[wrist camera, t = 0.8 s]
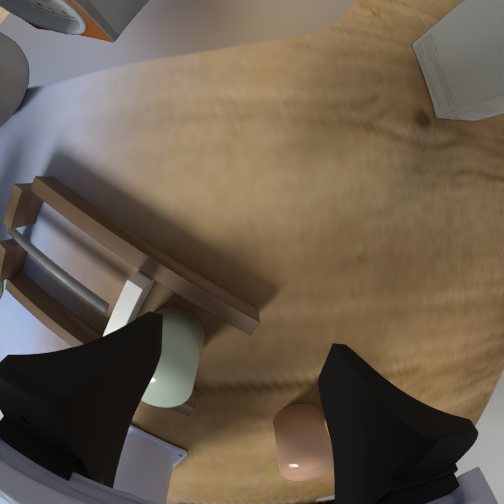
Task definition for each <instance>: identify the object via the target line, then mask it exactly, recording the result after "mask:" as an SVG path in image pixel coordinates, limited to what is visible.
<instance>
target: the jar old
mask: <svg viewBox="0 0 504 504" xmlns="http://www.w3.org/2000/svg"><path fill="white" fill-rule="evenodd" d="M154 313H158V314H162V315H163V329H162V354H161V357H160V360H159V363H158V365H157V368H156V371H155V373H154V375H153V377H152V379H151V381H150V383H149V385H148V387H147V389H146V391H145V393H144V395H143V397H142V399H141V401H143V402H145V403H147V404H150V405H153V406H157V407H175V406H178V405H181V404H182V403H184V402H185V401H187V400H188V398H189V397H190V396H191V393H192V390H193V386H194V382H195V377H196V373H197V369H198V365H199V361H200V357H201V353H202V348H203V344H204V340H205V334H204V329H203V327H202V325H201V323H200V321H199V320H198V319H197V318H196V317H195V316H194V315H193V314H192V313H190V312H189V311H187V310H185V309H182V308H178V307H164V308H161V309H159V310H157V311H156V312H154Z"/></svg>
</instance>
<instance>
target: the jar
mask: <svg viewBox="0 0 504 504" xmlns="http://www.w3.org/2000/svg"><path fill="white" fill-rule="evenodd" d="M273 424H274V432H275V439H276V447H277V455H278V462H279V470H280V474H281V475H282V476H283V477H284V478H286V479H289V480H297V481H300V480H309V479H313V478H316V477H319V476H321V475H324V474H325V473H327V472H329V471H330V470H331V469H332V468H333V467H334V462H333V452H332V444H331V441H330V438H329V435H328V432H327V429H326V426H325V423H324V420H323V417H322V414H321V411H320V409H319V408H318V407H316V406H314V405H312V404H308V403H299V404H293V405H290V406H287V407H285V408H284V409H282V410H281V411H279V412H278V413H277V414H276V416H275V418H274V421H273Z"/></svg>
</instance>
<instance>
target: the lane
mask: <svg viewBox="0 0 504 504" xmlns="http://www.w3.org/2000/svg"><path fill="white" fill-rule="evenodd" d="M43 201H45V202H46V203H47V204H48V205H50V206H51V207H52V208H53V209H55V210H56V211H57V212H59V213H60V214H61V215H63V216H64V217H65V218H66V219H68V220H69V221H70V222H72V223H73V224H74V225H76V226H77V227H79V228H80V229H81V230H83V231H84V232H85V233H87V234H88V235H90V236H91V237H92V238H94V239H95V240H97V241H98V242H99V243H101V244H102V245H104V246H105V247H106V248H108V249H109V250H111V251H112V252H114V253H115V254H117V255H118V256H120V257H121V258H123V259H124V260H126V261H127V262H129V263H130V264H132V265H133V266H135V267H136V268H138V269H139V270H141V271H142V272H144V273H145V274H147V275H148V276H150V277H152V278H153V279H155V280H156V281H158V282H159V283H161V284H163V285H164V286H166V287H167V288H169V289H171V290H172V291H174V292H176V293H177V294H179V295H180V296H182V297H184V298H185V299H187V300H189V301H190V302H192V303H194V304H196V305H197V306H199V307H201V308H202V309H204V310H206V311H208V312H209V313H211V314H213V315H215V316H216V317H218V318H220V319H222V320H223V321H225V322H227V323H229V324H231V325H232V326H234V327H236V328H238V329H240V330H242V331H243V332H245V333H247V334H249V335H251V334H252V333H253V332H254V330H255V329H256V328H257V326H258V325H259V323H260V319H259V311H258V308H256V307H254V306H252V305H251V304H249V303H247V302H245V301H244V300H242V299H240V298H238V297H237V296H235V295H233V294H232V293H230V292H228V291H226V290H225V289H223V288H221V287H220V286H218V285H216V284H215V283H213V282H211V281H210V280H208V279H206V278H205V277H203V276H201V275H200V274H198V273H196V272H195V271H193V270H191V269H190V268H188V267H187V266H185V265H183V264H182V263H180V262H179V261H177V260H175V259H174V258H172V257H171V256H169V255H167V254H166V253H164V252H163V251H161V250H159V249H158V248H156V247H155V246H153V245H152V244H150V243H148V242H147V241H145V240H144V239H142V238H141V237H139V236H138V235H136V234H135V233H133V232H132V231H130V230H129V229H127V228H125V227H124V226H122V225H121V224H119V223H118V222H116V221H115V220H113V219H112V218H111V217H109V216H108V215H106V214H105V213H103V212H102V211H100V210H99V209H97V208H96V207H94V206H93V205H91V204H90V203H89V202H87V201H86V200H84V199H83V198H81V197H80V196H79V195H77V194H76V193H74V192H73V191H72V190H70V189H69V188H67V187H66V186H65V185H63V184H62V183H60V182H59V181H58V180H56V179H55V178H53V177H42V176H35V178H34V181H33V183H25V184H14V187H13V190H12V193H11V196H10V199H9V202H8V206H7V209H6V213H5V217H4V221H3V222H4V223H5V224H6V225H7V226H8V227H9V228H10V229H13V228H17V227H22V226H26V225H30V224H35V222H36V219H37V216H38V213H39V210H40V207H41V205H42V202H43ZM26 254H27V251H26V250H25V249H24V248H23V247H22V246H21V245H20V244H19V243H18V242H17V241H15V240H14V239H13V238H12V239H8V240H5V241H1V242H0V282H1V281H3V280H5V279H7V281H6V288H5V289H6V290H7V291H8V292H9V293H10V294H11V295H12V296H13V297H14V298H15V299H16V300H17V301H18V302H19V303H20V304H22V305H23V306H24V307H25V308H26V309H27V310H28V311H29V312H30V313H31V314H32V315H34V316H35V317H36V318H37V319H38V320H39V321H40V322H42V323H43V324H44V325H45V326H46V327H48V328H49V329H50V330H51V331H52V332H54V333H55V334H56V335H57V336H59V337H60V338H61V339H63V340H64V341H65V342H66V343H68V344H69V345H70V346H72V347H76V346H80V345H83V344H85V343H88V342H91V341H94V340H96V339H99V338H101V337H103V336H102V335H101V334H99V333H98V332H96V331H95V330H93V329H92V328H91V327H89V326H88V325H86V324H85V323H84V322H82V321H81V320H80V319H78V318H77V317H76V316H74V315H73V314H72V313H70V312H69V311H68V310H66V309H65V308H64V307H63V306H61V305H60V304H59V303H58V302H56V301H55V300H54V299H53V298H52V297H50V296H49V295H48V294H47V293H46V292H44V291H43V290H42V289H41V288H40V287H39V286H37V285H36V284H35V283H34V282H33V281H32V280H31V279H30V278H29V277H27V276H26V275H25V274H24V273H23V272H22V271H23V266H24V262H25V258H26ZM197 393H198V391H196V390H194V389H193V390H192V393H191V396H190V397H189V398H188V400H187V401H185V402H184V403H182V404H181V405H178V406H175V407H171V408H173V409H175V410H177V411H179V412H181V413H183V414H186V415H188V416H189V415H190V414H191V412H192V411H193V410H194V408H195V403H196V398H197Z"/></svg>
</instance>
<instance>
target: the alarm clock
mask: <svg viewBox="0 0 504 504" xmlns="http://www.w3.org/2000/svg"><path fill="white" fill-rule="evenodd" d="M148 1H149V0H0V6H1V7H3V8H4V9H6V10H7V11H9V12H10V13H12V14H14V15H16V16H18V17H20V18H22V19H23V20H25V21H26V22H28V23H29V24H31V25H32V26H34V27H35V28H37V29H45V30H52V31H56V32H60V33H64V34H71V35H76V34H77V35H82V36H87V37H92V38H97V39H101V40H105V41H109V42H115V41H116V40H117V38H118V37H119V36H120V34H121V33H122V32H123V30H124V29H125V28H126V26H127V25H128V24H129V23H130V22H131V20H132V19H133V18H134V17H135V16H136V14H137V13H138V12H139V11H140V10H141V9H142V7H143V6H144V5H145V4H146V3H147V2H148Z"/></svg>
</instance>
